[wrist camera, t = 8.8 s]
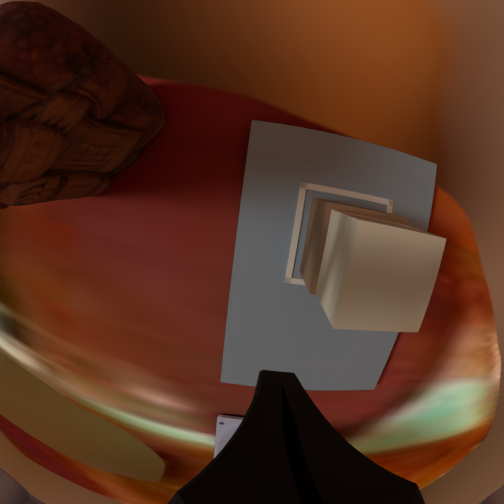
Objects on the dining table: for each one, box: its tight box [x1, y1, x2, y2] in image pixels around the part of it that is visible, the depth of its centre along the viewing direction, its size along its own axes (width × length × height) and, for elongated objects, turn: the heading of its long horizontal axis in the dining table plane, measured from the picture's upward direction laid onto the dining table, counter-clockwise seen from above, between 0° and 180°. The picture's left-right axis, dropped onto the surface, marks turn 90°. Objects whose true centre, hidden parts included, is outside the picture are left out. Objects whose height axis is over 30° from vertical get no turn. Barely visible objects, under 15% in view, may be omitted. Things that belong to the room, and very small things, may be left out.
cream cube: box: [315, 210, 446, 332], centre depth 12 cm, size 4×4×4 cm
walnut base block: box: [300, 198, 409, 295], centre depth 16 cm, size 5×5×4 cm
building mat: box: [221, 120, 437, 390], centre depth 19 cm, size 20×14×1 cm
